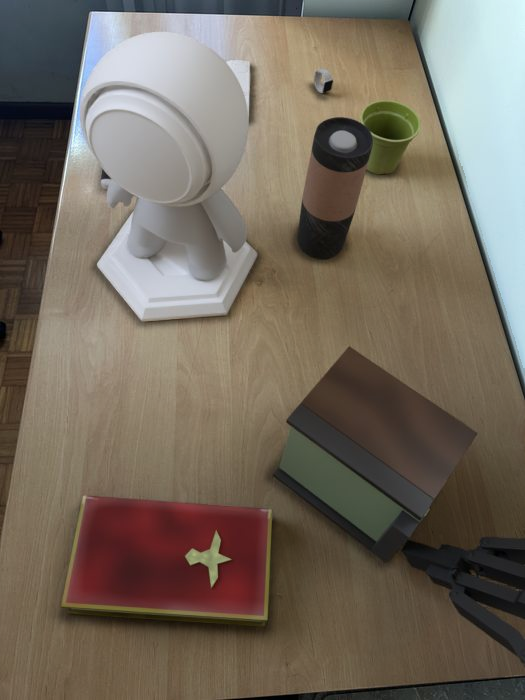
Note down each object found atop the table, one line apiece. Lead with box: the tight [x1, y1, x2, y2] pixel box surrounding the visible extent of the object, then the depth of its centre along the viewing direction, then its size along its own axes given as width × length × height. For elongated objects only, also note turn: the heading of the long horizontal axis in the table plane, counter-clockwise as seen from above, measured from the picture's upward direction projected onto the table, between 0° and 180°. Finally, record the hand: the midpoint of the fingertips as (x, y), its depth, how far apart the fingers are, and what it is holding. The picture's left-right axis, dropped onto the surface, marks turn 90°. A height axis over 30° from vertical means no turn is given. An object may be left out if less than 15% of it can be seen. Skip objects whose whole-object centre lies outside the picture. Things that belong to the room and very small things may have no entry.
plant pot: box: [359, 99, 422, 175], centre depth 106 cm, size 9×9×9 cm
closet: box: [272, 345, 479, 552], centre depth 74 cm, size 11×16×16 cm
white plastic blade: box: [225, 59, 251, 120], centre depth 116 cm, size 5×15×1 cm, turn 179°
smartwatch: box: [313, 68, 334, 94], centre depth 117 cm, size 4×2×4 cm, turn 32°
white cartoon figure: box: [79, 31, 258, 322], centre depth 81 cm, size 20×23×35 cm
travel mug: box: [296, 116, 373, 260], centre depth 92 cm, size 8×8×20 cm
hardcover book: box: [60, 494, 273, 627], centre depth 72 cm, size 12×21×4 cm, turn 87°
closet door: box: [278, 426, 431, 563], centre depth 71 cm, size 3×16×14 cm, turn 52°
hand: (410, 553), depth 69 cm, fingers closed
